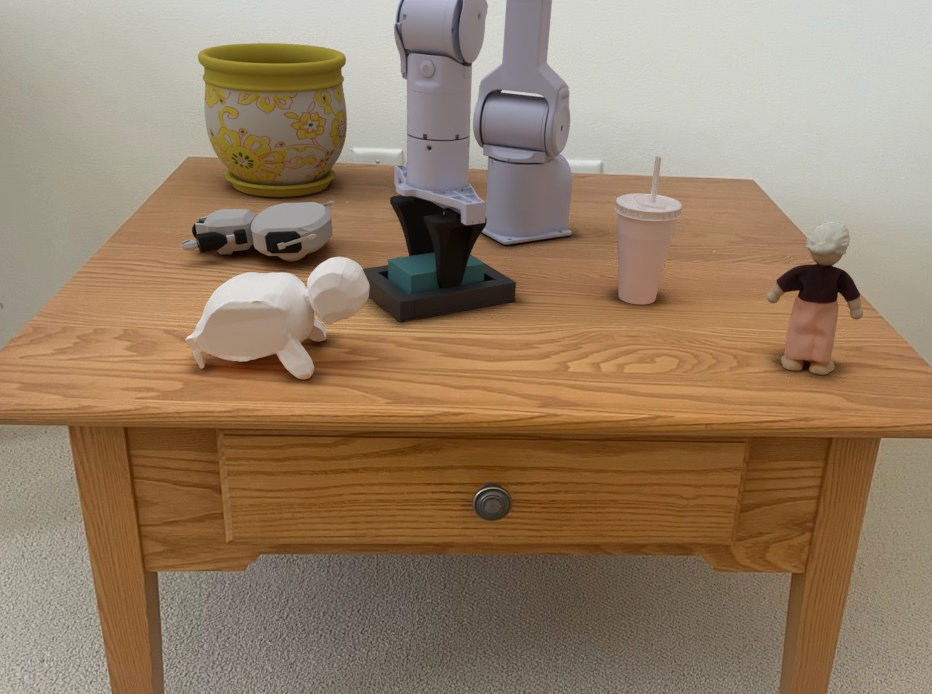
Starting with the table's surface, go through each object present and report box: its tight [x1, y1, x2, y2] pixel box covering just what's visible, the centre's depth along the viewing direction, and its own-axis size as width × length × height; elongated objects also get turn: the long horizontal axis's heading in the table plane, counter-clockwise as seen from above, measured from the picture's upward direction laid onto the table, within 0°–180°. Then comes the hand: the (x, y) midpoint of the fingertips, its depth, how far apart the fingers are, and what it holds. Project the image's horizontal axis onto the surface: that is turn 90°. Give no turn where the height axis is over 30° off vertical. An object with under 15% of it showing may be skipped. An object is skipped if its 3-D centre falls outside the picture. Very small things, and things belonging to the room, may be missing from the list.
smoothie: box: [614, 156, 683, 305], centre depth 92 cm, size 6×6×14 cm
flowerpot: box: [197, 42, 348, 198], centre depth 123 cm, size 18×18×16 cm
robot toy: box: [181, 200, 335, 262], centre depth 102 cm, size 12×4×15 cm
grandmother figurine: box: [766, 220, 864, 376], centre depth 80 cm, size 8×4×13 cm, turn 81°
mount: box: [362, 253, 517, 323], centre depth 94 cm, size 12×10×2 cm
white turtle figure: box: [185, 256, 370, 381], centre depth 78 cm, size 9×8×15 cm
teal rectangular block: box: [387, 252, 486, 294], centre depth 93 cm, size 8×5×3 cm, turn 120°
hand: (436, 277), depth 93 cm, fingers closed on teal rectangular block, 5 cm apart
